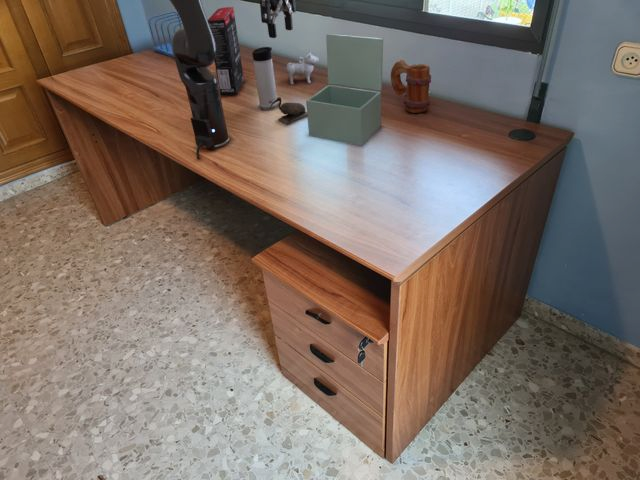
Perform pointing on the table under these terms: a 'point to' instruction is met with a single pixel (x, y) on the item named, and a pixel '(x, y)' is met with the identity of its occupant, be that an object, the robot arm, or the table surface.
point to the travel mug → (265, 77)
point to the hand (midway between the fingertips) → (281, 33)
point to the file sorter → (165, 47)
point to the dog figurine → (302, 67)
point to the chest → (344, 114)
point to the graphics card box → (226, 51)
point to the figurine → (291, 111)
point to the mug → (412, 85)
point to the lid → (355, 61)
